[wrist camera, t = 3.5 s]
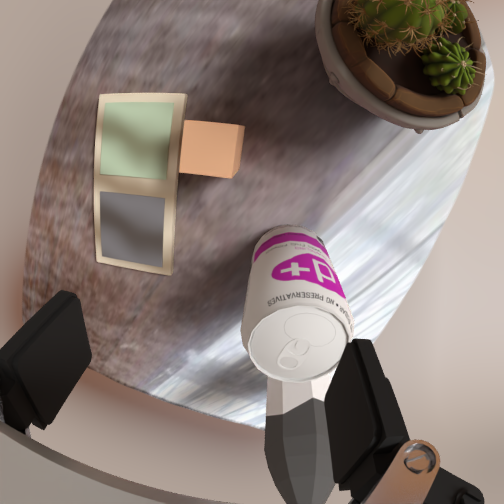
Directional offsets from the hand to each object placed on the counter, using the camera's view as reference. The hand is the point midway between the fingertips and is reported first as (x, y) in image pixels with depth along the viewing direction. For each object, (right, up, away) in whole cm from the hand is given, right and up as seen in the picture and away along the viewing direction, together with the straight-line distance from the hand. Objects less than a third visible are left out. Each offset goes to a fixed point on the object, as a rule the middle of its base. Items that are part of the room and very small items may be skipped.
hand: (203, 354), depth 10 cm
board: (-11, +11, +22) cm, 27 cm away
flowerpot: (+14, +23, +15) cm, 31 cm away
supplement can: (+6, +3, +24) cm, 25 cm away
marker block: (-2, +14, +20) cm, 24 cm away
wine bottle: (+8, -11, +29) cm, 32 cm away
